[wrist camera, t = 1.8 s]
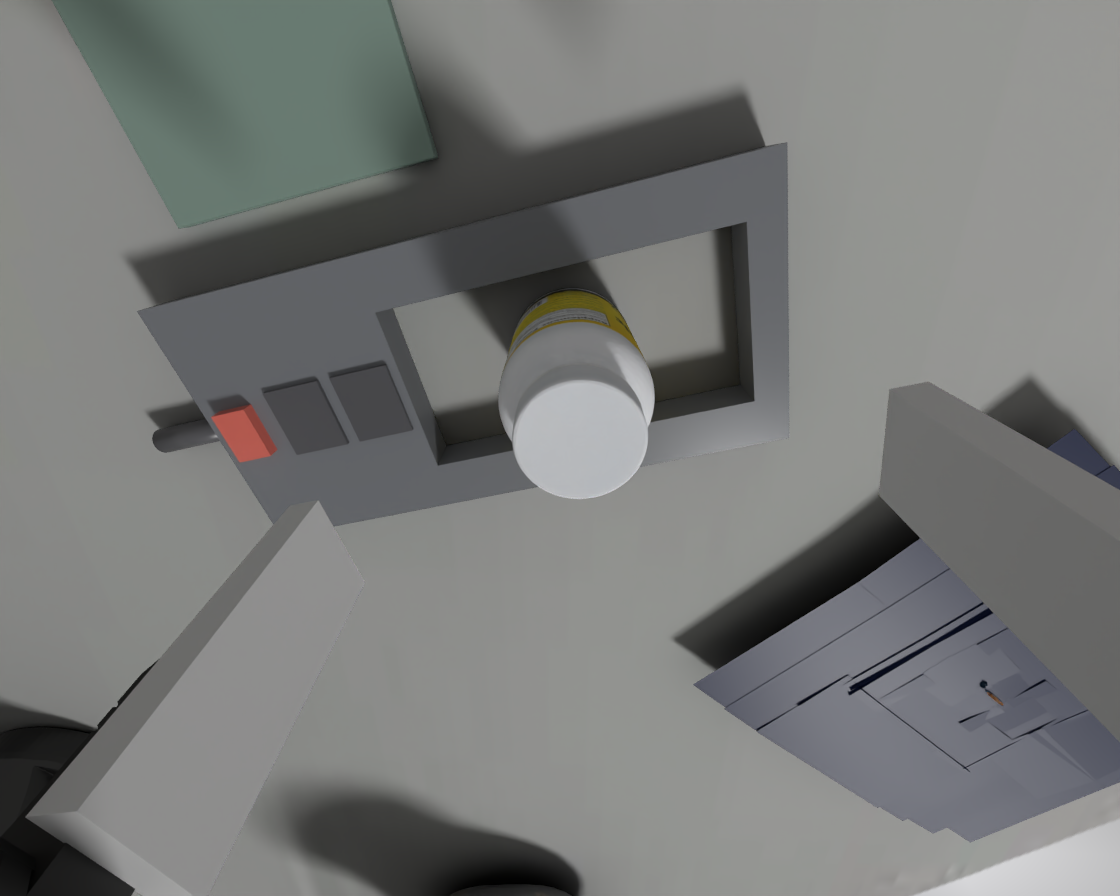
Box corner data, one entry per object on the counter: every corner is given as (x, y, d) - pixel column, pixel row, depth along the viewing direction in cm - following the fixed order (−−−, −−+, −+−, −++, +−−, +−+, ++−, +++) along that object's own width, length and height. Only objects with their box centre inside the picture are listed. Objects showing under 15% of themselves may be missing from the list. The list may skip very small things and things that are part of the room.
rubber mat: (188, 227, 20) (178, 228, 20) (-18, -150, 15) (-39, -163, 15) (438, 157, 19) (434, 157, 19) (306, -279, 14) (296, -297, 13)
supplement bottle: (629, 396, 24) (667, 517, 15) (519, 401, 24) (495, 523, 15) (631, 281, 21) (678, 349, 13) (508, 287, 21) (472, 359, 13)
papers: (926, 812, 42) (955, 864, 39) (681, 651, 34) (692, 699, 30) (1256, 669, 33) (1331, 721, 30) (1031, 401, 25) (1100, 432, 21)
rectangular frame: (235, 526, 28) (205, 557, 25) (93, 321, 22) (39, 337, 20) (773, 419, 24) (794, 444, 22) (766, 146, 19) (794, 141, 17)
